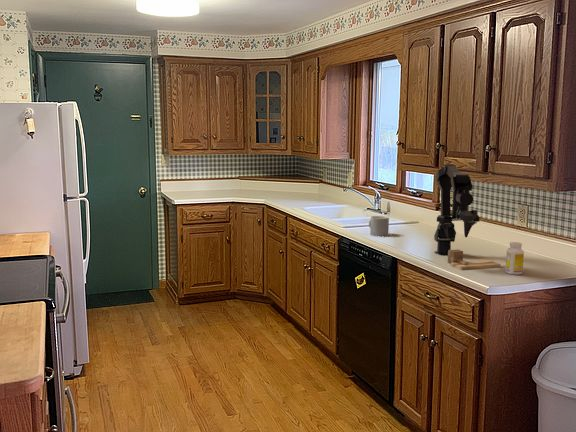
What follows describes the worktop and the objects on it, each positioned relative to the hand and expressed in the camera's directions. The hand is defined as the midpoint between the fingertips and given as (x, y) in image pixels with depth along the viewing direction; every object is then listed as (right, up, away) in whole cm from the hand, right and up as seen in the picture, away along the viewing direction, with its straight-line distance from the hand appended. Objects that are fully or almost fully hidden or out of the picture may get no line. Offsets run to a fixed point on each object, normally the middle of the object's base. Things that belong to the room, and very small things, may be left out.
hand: (457, 237), depth 262 cm
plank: (+7, -12, -2) cm, 15 cm away
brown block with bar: (+1, -12, -1) cm, 12 cm away
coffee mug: (-24, -1, +70) cm, 75 cm away
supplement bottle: (+20, -15, -14) cm, 28 cm away
